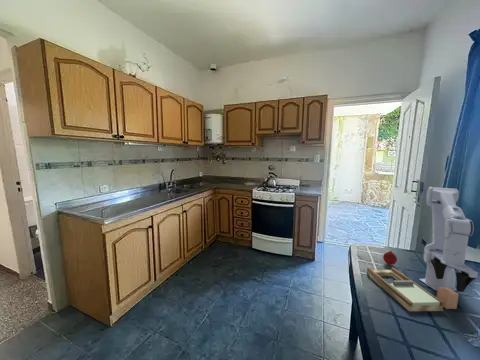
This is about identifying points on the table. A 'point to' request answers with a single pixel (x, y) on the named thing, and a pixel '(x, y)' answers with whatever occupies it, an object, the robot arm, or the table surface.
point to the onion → (390, 258)
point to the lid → (414, 293)
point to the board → (396, 294)
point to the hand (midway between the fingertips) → (449, 284)
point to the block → (448, 297)
